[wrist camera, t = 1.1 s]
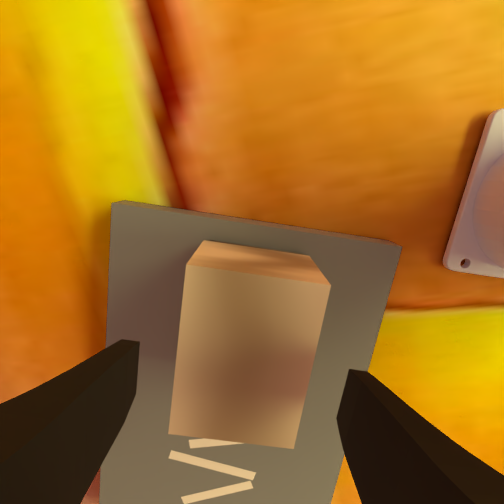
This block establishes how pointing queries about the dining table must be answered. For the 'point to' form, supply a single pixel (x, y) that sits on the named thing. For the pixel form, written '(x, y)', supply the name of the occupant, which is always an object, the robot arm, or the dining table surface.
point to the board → (165, 351)
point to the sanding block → (246, 343)
